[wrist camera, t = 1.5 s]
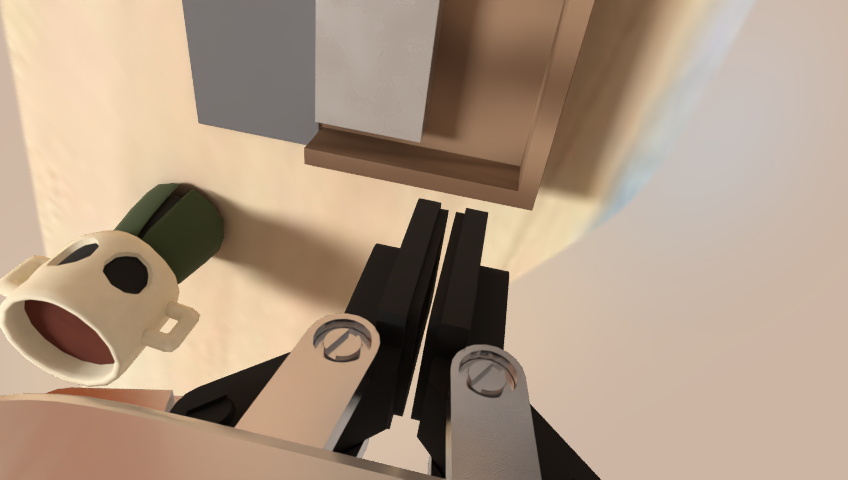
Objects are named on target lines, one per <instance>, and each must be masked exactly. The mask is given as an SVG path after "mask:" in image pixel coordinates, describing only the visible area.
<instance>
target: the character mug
mask: <svg viewBox="0 0 848 480" xmlns="http://www.w3.org/2000/svg"><path fill="white" fill-rule="evenodd" d="M178 186H179V185H178V184H175V183H171V184H159V185H157V186H156V187H154V188H153V189H152V190H150V191H149V192H148V193H146V194H145V195H144V196H143V197H142V199H141V200H140V201H139V202H138V203H137V204H136V205H135V206H134V207H133V208H132V209H131V210H130V211H129V212H128V214H127V215H126V216H125V217H124V218H123V220H122V221H121V222H120V223H119V224H118V226H117V227H116V228H115V229H114V230H113V231H101V232H96V233H91V234H86V235H84V236H82V237H80V238H78V239H76V240H74V241H72V242H71V243H69V244H68V245H67V246H65V247H64V248H63V249H62V250H61V251H60V252H59V253H57V254H56V255H55V256H54V257H52V258H51V259H50V258H47V257H44V256H36V255H35V256H33V257H30V258H28V259H27V260H25V261H24V262H22V263H21V264H20V265H18V266H17V267H16V268H15V269H13V270H12V271H11V272H9V273H8V274H7V275H5V276H4V277H3V278H1V280H0V294H2V295H3V296H5V297H7V298H6V300H4V301H3V303H2V304H1V305H0V327H1V329H2V330H3V332H4V334H5V336H6V338H7V340H8V341H9V342H10V343H11V344H12V345H13V346H14V347H15V348H16V349H17V350H18V351H19V352H20V353H21V354H22V355H23V356H24V357H25V358H26V359H28V360H29V361H31V362H32V363H34V364H35V365H36V366H38V367H39V368H41V369H42V370H44V371H45V372H47V373H49V374H51V375H54V376H56V377H58V378H60V379H62V380H64V381H67V382H70V383H75V384H79V385H84V386H88V387H92V386H105V385H108V384H110V383H111V382H113V381H114V380H116V379H118V378H119V377H120V376H121V375H122V374H123V373H124V372H125V371H126V370H127V369H128V367H129V366H130V365H131V364H132V363H133V361H134V360H135V359H136V358H137V357H138V355H139V354H140V353H141V352H142V351H143V349H144V348H145V347H146V346H149V347H152V348H155V349H158V350H161V351H164V352H173V351H174V350H175V349H177V348H178V347H179V346H180V344H181V343H182V342H183V340H184V339H185V338H186V337H187V335H188V334H189V333H190V331H191V330H192V329H193V327H194V326H195V325H196V323H197V322H198V321H199V317H200V314H199V313H198V312H197V311H195V310H194V309H193V308H190V307H187V306H185V305H182V304H179V303H177V301H178V296H179V288H178V284H179V283H181V282H182V281H183V280H184V279H186V278H187V277H188V276H189V275H191V274H192V273H193V272H194V271H196V270H197V269H198V268H199V267H200V266H202V265H203V264H204V263H205V262H207V261H208V260H209V259H210V258H211V257H212V256H213V255H214V254H215V253H216V252H217V251H219V248H220V246H221V243H222V241H223V239H224V234H223V220H222V219H221V217H220V215H219V214H218V212H217V211H216V209H215V208H214V206H213V205H212V203H211V202H209V201H208V200H207V199H206V198H204V197H203V196H202V195H201V194H199V193H198V192H197V191H195V190H192V189H191V190H190V191H189V192H188V193H187V194H186V195H185V196H184V197H182V198H180V197H177V196H169V195H170V194H171V193H172V192H173V191H174V190H175V189H176V188H177V187H178ZM169 318H172V319H175V320H178V323H177V324H176V325H175V326H174V328H173V329H172V330H171V331H170V332H169V333H168V334H167V333H162V332H160V331H159V330H160V329H161V328H162V326H163V325H164V324H165V323H166V322H167V320H168V319H169Z"/></svg>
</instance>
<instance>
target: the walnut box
mask: <svg viewBox="0 0 848 480" xmlns="http://www.w3.org/2000/svg"><path fill="white" fill-rule="evenodd" d="M594 1H595V0H445V1H444V8H443V16H442V23H441V30H440V37H439V44H438V51H437V58H436V65H435V73H434V80H433V87H432V94H431V101H430V108H429V115H428V122H427V129H426V131H425V133H424V136H423V138H422V140H421V142H420V143H419V142H414V141H409V140H404V139H399V138H394V137H389V136H384V135H379V134H374V133H369V132H364V131H359V130H354V129H349V128H344V127H339V126H334V125H329V124H324V123H323V127H322V128H321V129H320V130H319V132H318V133H317V134H316V135H315V136H314V137H313V139H312V140H311V141H310V142H309V143H308V144H307V146H306V147H305V148H304V158H305V164H307V165H312V166H317V167H322V168H327V169H332V170H337V171H341V172H346V173H351V174H356V175H361V176H366V177H371V178H376V179H380V180H385V181H390V182H395V183H400V184H405V185H410V186H415V187H419V188H424V189H429V190H434V191H439V192H444V193H449V194H454V195H458V196H463V197H468V198H473V199H478V200H483V201H488V202H493V203H497V204H502V205H507V206H512V207H517V208H522V209H527V210H532V209H533V206H534V203H535V199H536V196H537V193H538V189H539V186H540V182H541V179H542V176H543V172H544V169H545V166H546V162H547V159H548V156H549V152H550V149H551V145H552V142H553V139H554V135H555V132H556V129H557V125H558V122H559V119H560V115H561V112H562V108H563V105H564V102H565V98H566V95H567V92H568V88H569V85H570V82H571V78H572V75H573V72H574V68H575V65H576V61H577V58H578V55H579V51H580V48H581V45H582V41H583V38H584V35H585V31H586V28H587V24H588V21H589V18H590V14H591V11H592V8H593V4H594Z"/></svg>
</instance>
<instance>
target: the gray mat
mask: <svg viewBox="0 0 848 480" xmlns="http://www.w3.org/2000/svg"><path fill="white" fill-rule="evenodd" d="M182 3H183V11H184V18H185V26H186V33H187V41H188V48H189V55H190V63H191V70H192V78H193V85H194V92H195V100H196V107H197V115H198V122H199V123H200V124H205V125H210V126H215V127H220V128H225V129H230V130H235V131H240V132H245V133H250V134H255V135H260V136H265V137H269V138H274V139H279V140H284V141H289V142H294V143H299V144H304V145H307V144H308V143H309V142H310V141H311V140H312V139H313V137H314V136H315V135H316V134H317V133H318V132H319V130H320V123H319V122H315V41H316V0H182Z"/></svg>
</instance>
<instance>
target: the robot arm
mask: <svg viewBox="0 0 848 480" xmlns="http://www.w3.org/2000/svg"><path fill="white" fill-rule="evenodd" d="M448 212H449V210H444V209H441V203H440V202H435V201H430V200H425V199H420V198H419V200H418V202H417V205H416V207H415V210H414V213H413V215H412V218H411V221H410V223H409V226H408V229H407V231H406V234H405V237H404V239H403V242H402V245H401V247H400V248H396V247H391V246H386V245H382V244H376V245H375V246H374V248H373V250H372V253H371V255H370V257H369V259H368V262H367V264H366V266H365V268H364V271H363V273H362V275H361V277H360V280H359V282H358V284H357V286H356V288H355V291H354V293H353V295H352V297H351V300H350V302H349V304H348V306H347V309H346V311H345V313H344V314H333V315H328V316H325V317H323V318H321V319H319V320H317V321H316V322H315V323H314V324H313V325H312V326H311V327H310V328H309V329H308V330H307V331H306V333H305V334H304V335H303V337H302V338H301V339H300V341H299V342H298V343H297V345H296V346H295V347H294V349H293V350H292V351H291V352H289V353H287V354H284V355H281V356H279V357H276V358H273V359H271V360H268V361H266V362H263V363H260V364H258V365H255V366H252V367H250V368H247V369H245V370H242V371H239V372H237V373H234V374H231V375H229V376H226V377H224V378H221V379H218V380H216V381H213V382H211V383H208V384H205V385H203V386H200V387H198V388H196V389H194V390H192V391H190V392H188V393H186V394H185V395H184V396H174V395H173V391H172V390H146V389H110V388H73V387H71V388H64V389H56V390H53V391H51V392H48V393H45V394H31V393H23V394H13V395H3V396H0V480H601V479H600V478H599V477H598V476H597V475H596V474H595V473H594V472H593V471H592V470H591V468H590V467H589V466H588V465H587V464H586V463H585V462H584V461H583V460H582V459H581V458H580V457H579V456H578V455H577V453H576V452H575V451H574V450H573V449H572V448H571V447H570V446H569V445H568V444H567V443H566V442H565V441H564V440H563V439H562V437H560V435H559V434H558V433H557V432H556V431H555V430H554V429H553V428H552V427H551V426H550V425H549V424H548V422H547V421H546V420H545V419H544V418H543V417H542V416H541V415H540V414H539V413H538V412H537V411H536V410H535V409H534V408H533V406H532V405H531V404H530V402H529V395H528V389H527V382H526V377H525V374H524V371H523V368H522V367H521V365H520V364H519V363H518V361H517V360H516V359H515V358H514V357H513V356H511V355H510V354H509V353H508V352H506V351H504V337H505V324H506V311H507V298H508V285H509V272H508V271H503V270H498V269H494V268H489V267H484V266H480V263H481V257H482V250H483V244H484V237H485V231H486V224H487V218H488V212H483V211H479V210H474V209H469V208H466V211H465V214H464V213H459V212H456V214H455V218H454V222H453V226H452V231H451V235H450V239H449V243H448V247H447V251H446V255H445V259H444V263H443V267H442V271H441V275H440V279H439V283H438V287H437V291H436V295H435V299H434V303H433V307H432V311H431V315H430V319H429V324H428V329H427V334H426V339H425V346H424V350H423V356H422V361H421V366H420V372H419V378H418V383H417V388H416V393H415V398H414V404H413V409H412V415H411V419H415V420H419V421H420V424H419V429H418V434H417V437H418V439H419V440H420V441H421V443H422V444H423V446H424V447H425V448H426V450H427V451H428V452H429V454H430V456H429V461H428V475H426V474H422V473H418V472H414V471H410V470H406V469H402V468H398V467H393V466H390V465H386V464H382V463H377V462H374V461H369V460H365V459H362V457H363V455H364V453H365V451H366V448H367V445H368V441H369V438H370V437H372V436H374V435H376V434H378V433H380V432H382V431H384V430H385V429H390V425H391V422H392V418H393V415H398V416H403V413H404V409H405V405H406V401H407V397H408V394H409V390H410V385H411V381H412V378H413V374H414V370H415V366H416V362H417V358H418V354H419V350H420V346H421V342H422V338H423V334H424V331H425V327H426V323H427V319H428V315H429V311H430V307H431V303H432V298H433V293H434V288H435V282H436V277H437V271H438V266H439V261H440V255H441V250H442V244H443V239H444V234H445V228H446V223H447V218H448Z"/></svg>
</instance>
